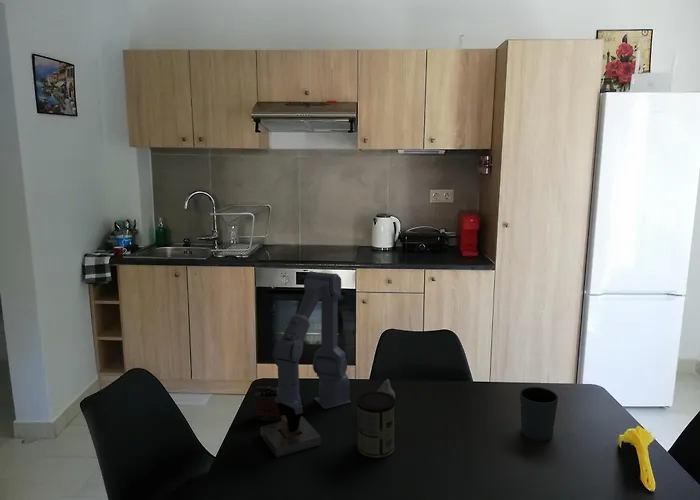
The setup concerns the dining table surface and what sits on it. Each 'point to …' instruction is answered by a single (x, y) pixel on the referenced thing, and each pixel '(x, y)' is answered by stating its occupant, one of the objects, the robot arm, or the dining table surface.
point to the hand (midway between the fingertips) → (289, 427)
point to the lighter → (266, 404)
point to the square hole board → (290, 438)
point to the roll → (386, 388)
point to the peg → (285, 429)
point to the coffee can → (376, 424)
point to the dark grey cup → (538, 412)
